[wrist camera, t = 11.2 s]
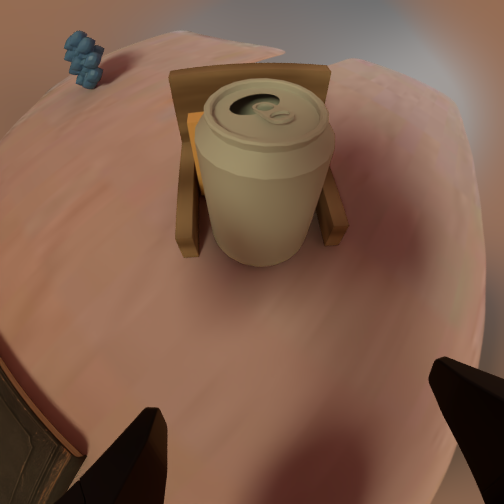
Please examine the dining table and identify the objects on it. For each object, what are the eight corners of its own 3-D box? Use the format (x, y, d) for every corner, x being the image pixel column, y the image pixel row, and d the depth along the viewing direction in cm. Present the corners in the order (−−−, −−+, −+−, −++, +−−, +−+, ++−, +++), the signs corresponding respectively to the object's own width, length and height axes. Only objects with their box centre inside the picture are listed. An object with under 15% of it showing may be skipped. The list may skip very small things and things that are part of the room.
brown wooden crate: (338, 244, 22) (383, 158, 14) (183, 257, 22) (145, 169, 13) (309, 149, 28) (326, 65, 19) (187, 156, 27) (170, 70, 18)
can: (270, 180, 25) (280, 61, 15) (323, 241, 23) (372, 123, 12) (197, 218, 24) (167, 95, 13) (245, 289, 21) (242, 178, 10)
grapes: (129, 80, 36) (113, 18, 25) (95, 102, 33) (72, 38, 23) (98, 72, 39) (83, 21, 28) (69, 91, 37) (49, 39, 26)
